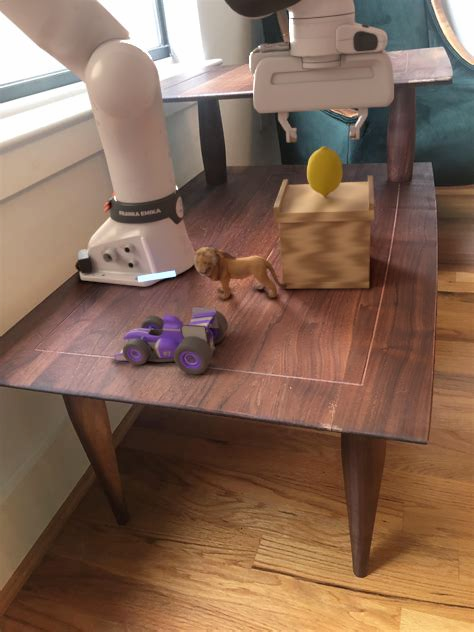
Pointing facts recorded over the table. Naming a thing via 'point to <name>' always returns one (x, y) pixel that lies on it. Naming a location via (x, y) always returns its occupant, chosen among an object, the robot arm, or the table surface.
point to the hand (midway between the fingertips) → (322, 140)
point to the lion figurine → (234, 269)
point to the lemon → (324, 171)
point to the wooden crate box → (325, 235)
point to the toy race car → (176, 340)
